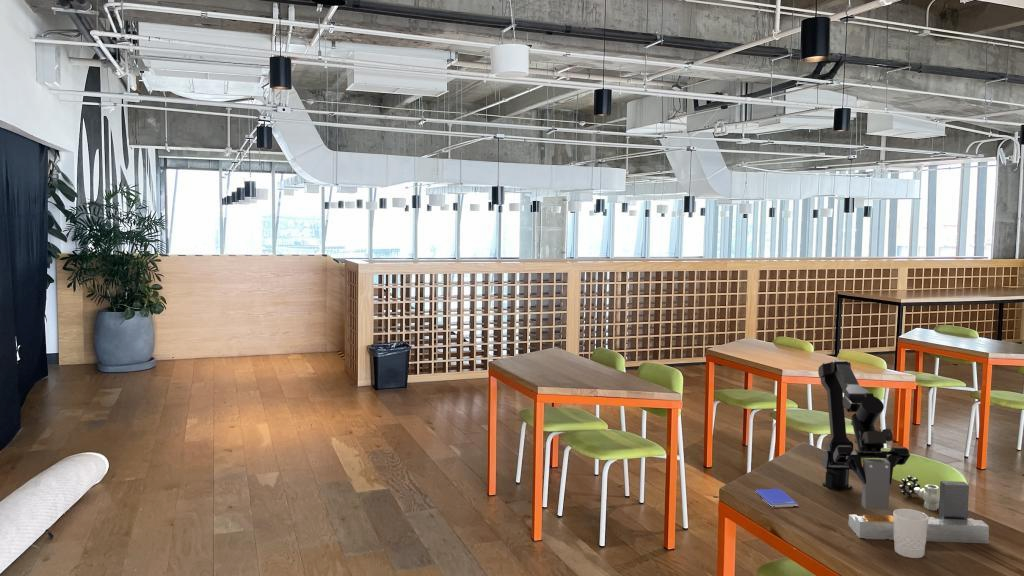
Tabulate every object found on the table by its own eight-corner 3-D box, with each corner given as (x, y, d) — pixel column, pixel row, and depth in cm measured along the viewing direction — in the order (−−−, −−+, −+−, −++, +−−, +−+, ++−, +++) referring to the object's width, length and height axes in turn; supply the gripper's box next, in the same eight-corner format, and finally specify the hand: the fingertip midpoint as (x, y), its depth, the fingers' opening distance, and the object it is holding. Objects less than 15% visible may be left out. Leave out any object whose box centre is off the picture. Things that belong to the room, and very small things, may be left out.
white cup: (885, 546, 198) (886, 509, 197) (914, 545, 199) (916, 507, 198) (903, 560, 190) (904, 521, 189) (933, 558, 191) (935, 519, 190)
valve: (946, 510, 222) (917, 495, 234) (947, 488, 222) (918, 474, 233) (926, 512, 221) (898, 497, 233) (927, 489, 221) (899, 476, 232)
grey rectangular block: (861, 504, 210) (863, 458, 209) (884, 505, 209) (886, 459, 208) (865, 509, 207) (867, 462, 206) (888, 510, 206) (890, 463, 205)
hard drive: (798, 503, 226) (780, 488, 238) (771, 503, 225) (754, 489, 238) (798, 508, 226) (780, 493, 238) (771, 509, 225) (754, 494, 238)
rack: (848, 524, 212) (849, 476, 211) (970, 528, 209) (973, 480, 208) (859, 538, 203) (861, 488, 202) (988, 543, 199) (990, 492, 198)
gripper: (837, 416, 211) (848, 469, 201) (908, 418, 209) (923, 471, 199) (828, 436, 220) (838, 487, 210) (896, 438, 217) (910, 489, 208)
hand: (877, 483), depth 206 cm, fingers closed on grey rectangular block, 6 cm apart
